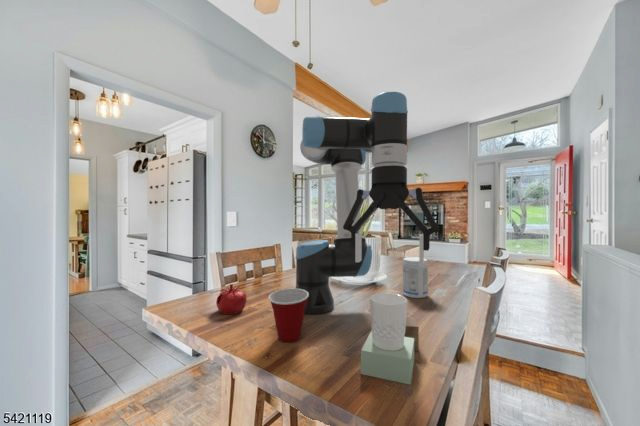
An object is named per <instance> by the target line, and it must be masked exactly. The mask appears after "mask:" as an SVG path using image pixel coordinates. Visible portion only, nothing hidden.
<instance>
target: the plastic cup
mask: <svg viewBox="0 0 640 426" xmlns="http://www.w3.org/2000/svg"><path fill="white" fill-rule="evenodd" d="M308 297H309V293H308V292H307V291H306V290H302V289H296V288H293V287H291V288H289V287H288V288H283V289H278V290H276V291H273V292H271V293H270V294H269V295H268V300H269V302H270V305H271V307H272V310H273V316H274V317H273V318H274V322H275V327H276V331H277V332H276V333H277V337H278V341H280V342H283V343H294V342H297V341H298V340H300V338H301V334H302V329H303V325H304V317H305V313H304V311H305V306H306V302H307V298H308Z"/></svg>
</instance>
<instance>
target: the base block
mask: <svg viewBox="0 0 640 426" xmlns="http://www.w3.org/2000/svg"><path fill="white" fill-rule="evenodd" d="M414 366H415V351H414V338H410V337H405V338H404V347H403V348H402V349H400V350H396V351H388V350H383V349H380V348H378V347H376V346H375V345H374V344H373V341H372V330H371V331H370V333H369V334H368V336H367V338H366V340H365V341H364V344H363V346H362V348H361V349H360V375H365V376H367V377H368V376H369V377H373V378H377V379H382V380H386V381H387V380H388V381H392V382H397V383H399V384H405V385H409V386H412V381H413V380H412V379H413V371H414Z"/></svg>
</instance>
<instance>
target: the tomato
mask: <svg viewBox="0 0 640 426" xmlns="http://www.w3.org/2000/svg"><path fill="white" fill-rule="evenodd" d="M225 288H227V289H221V290H220V291H219V292H220V294H219V295H218V296H217V298H216V301H215V302H216V307H217V310H218V311H219V312H220V313H221V314H223V315H234V314H238V313H240V312H241V311H243V309H244V308H245V307H246V305H247V301H248V300H247V299H248V297H247V294H246V293H245V292H244V291H241V290H242V289H244V288H242V287H240V286H238V287H236V286H234V284H233V283H232V284H229V287H228V286H227V287H225ZM239 289H241V290H239Z"/></svg>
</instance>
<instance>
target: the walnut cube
mask: <svg viewBox="0 0 640 426" xmlns="http://www.w3.org/2000/svg"><path fill="white" fill-rule="evenodd" d="M419 333H420V332H419V325H418V323H417V321H416V319H415V317H412V316H411V317H409V316H406V328H405V337H410V338H414V352H419V345H420V344H419V342H420V341H419V339H420V338H419Z"/></svg>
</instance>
